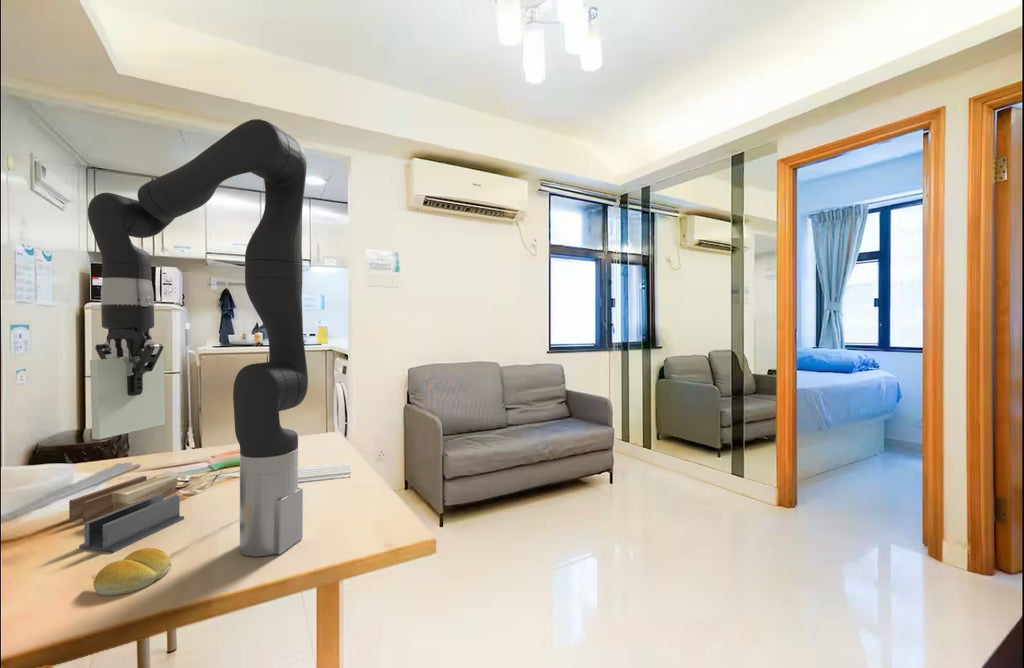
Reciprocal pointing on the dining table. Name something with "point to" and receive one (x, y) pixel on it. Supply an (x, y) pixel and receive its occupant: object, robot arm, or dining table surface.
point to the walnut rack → (98, 502)
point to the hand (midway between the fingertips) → (130, 394)
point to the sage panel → (124, 398)
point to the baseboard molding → (316, 472)
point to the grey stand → (131, 523)
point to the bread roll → (132, 572)
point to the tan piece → (145, 491)
